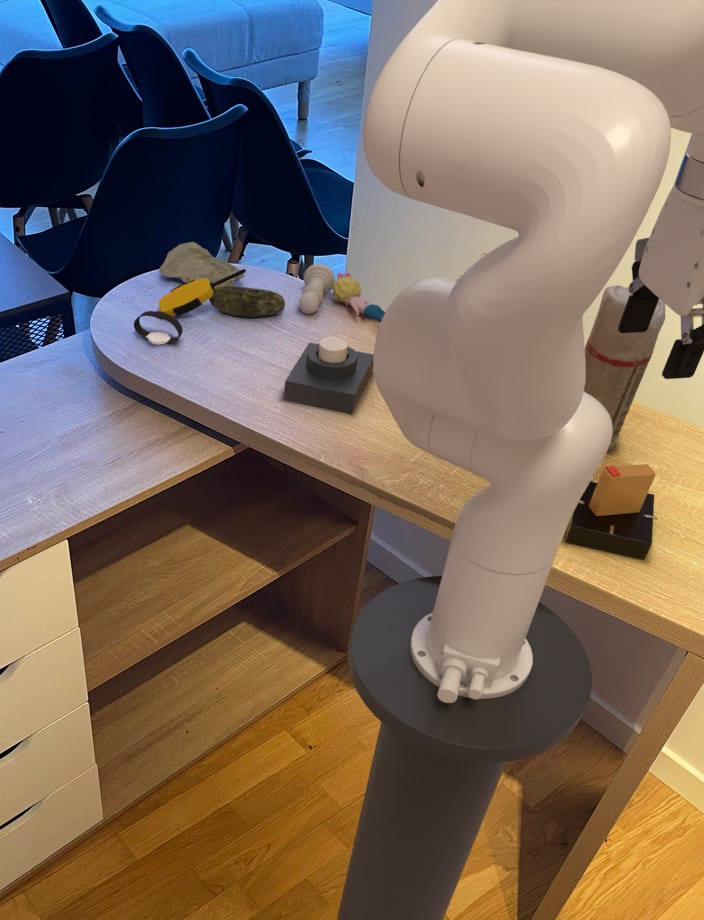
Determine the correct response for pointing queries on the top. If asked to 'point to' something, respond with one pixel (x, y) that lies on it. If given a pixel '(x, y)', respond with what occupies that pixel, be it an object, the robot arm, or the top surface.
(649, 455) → the top surface
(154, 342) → the watch
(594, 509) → the knob
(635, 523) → the panel
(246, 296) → the decorative stone
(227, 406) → the top surface
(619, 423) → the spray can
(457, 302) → the robot arm
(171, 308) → the walkie talkie
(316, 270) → the chess piece
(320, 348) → the white push button
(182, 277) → the stone
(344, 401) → the dark grey button base
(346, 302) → the figurine
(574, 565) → the top surface
